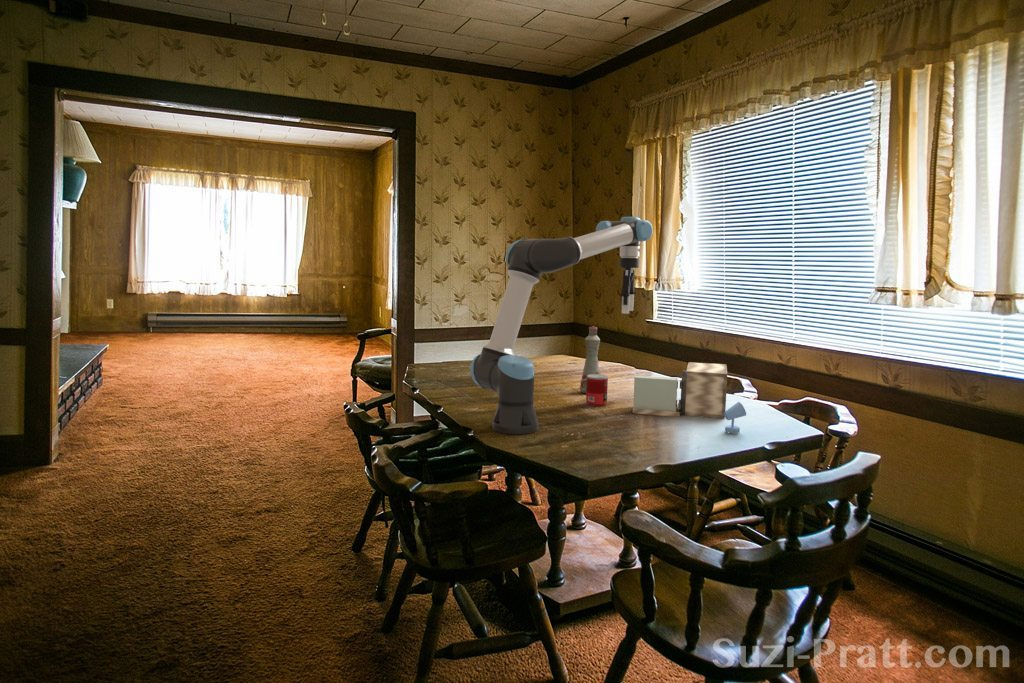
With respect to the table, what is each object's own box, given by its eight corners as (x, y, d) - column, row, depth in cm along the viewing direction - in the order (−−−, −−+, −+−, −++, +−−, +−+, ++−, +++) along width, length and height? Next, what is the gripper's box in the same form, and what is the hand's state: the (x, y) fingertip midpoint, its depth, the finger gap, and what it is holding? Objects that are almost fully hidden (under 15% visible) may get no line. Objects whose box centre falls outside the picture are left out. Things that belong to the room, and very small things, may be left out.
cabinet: (632, 413, 240) (634, 369, 238) (640, 398, 264) (641, 359, 262) (725, 420, 231) (727, 375, 229) (724, 405, 255) (726, 364, 252)
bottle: (591, 395, 268) (593, 327, 265) (575, 392, 275) (577, 325, 271) (605, 393, 274) (607, 326, 270) (589, 389, 281) (591, 324, 277)
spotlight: (740, 429, 219) (720, 430, 218) (742, 400, 217) (721, 400, 217) (747, 433, 214) (726, 434, 213) (748, 403, 212) (728, 403, 212)
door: (633, 412, 242) (634, 377, 240) (634, 409, 245) (635, 375, 244) (676, 415, 237) (677, 380, 235) (676, 413, 241) (678, 378, 239)
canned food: (608, 406, 250) (609, 377, 249) (587, 406, 250) (587, 377, 249) (605, 402, 258) (606, 374, 256) (585, 401, 258) (585, 373, 256)
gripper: (635, 257, 243) (633, 315, 246) (642, 257, 267) (640, 309, 270) (615, 257, 246) (613, 314, 248) (624, 257, 269) (622, 309, 272)
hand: (627, 312), depth 259 cm, fingers open, 13 cm apart
